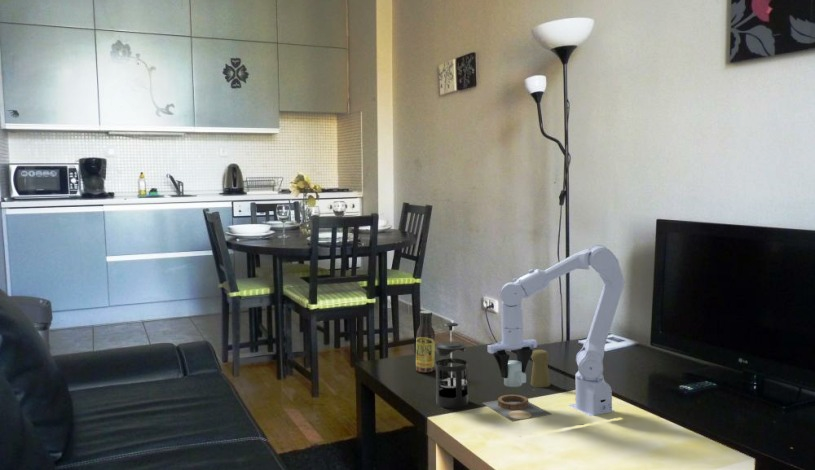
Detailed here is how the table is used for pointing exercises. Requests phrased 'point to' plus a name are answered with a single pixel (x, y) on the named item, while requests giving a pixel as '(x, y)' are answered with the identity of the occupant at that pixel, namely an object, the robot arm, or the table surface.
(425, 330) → the sauce bottle
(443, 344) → the french press
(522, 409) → the board
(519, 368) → the white ceramic mug
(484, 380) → the table surface
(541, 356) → the pepper shaker
